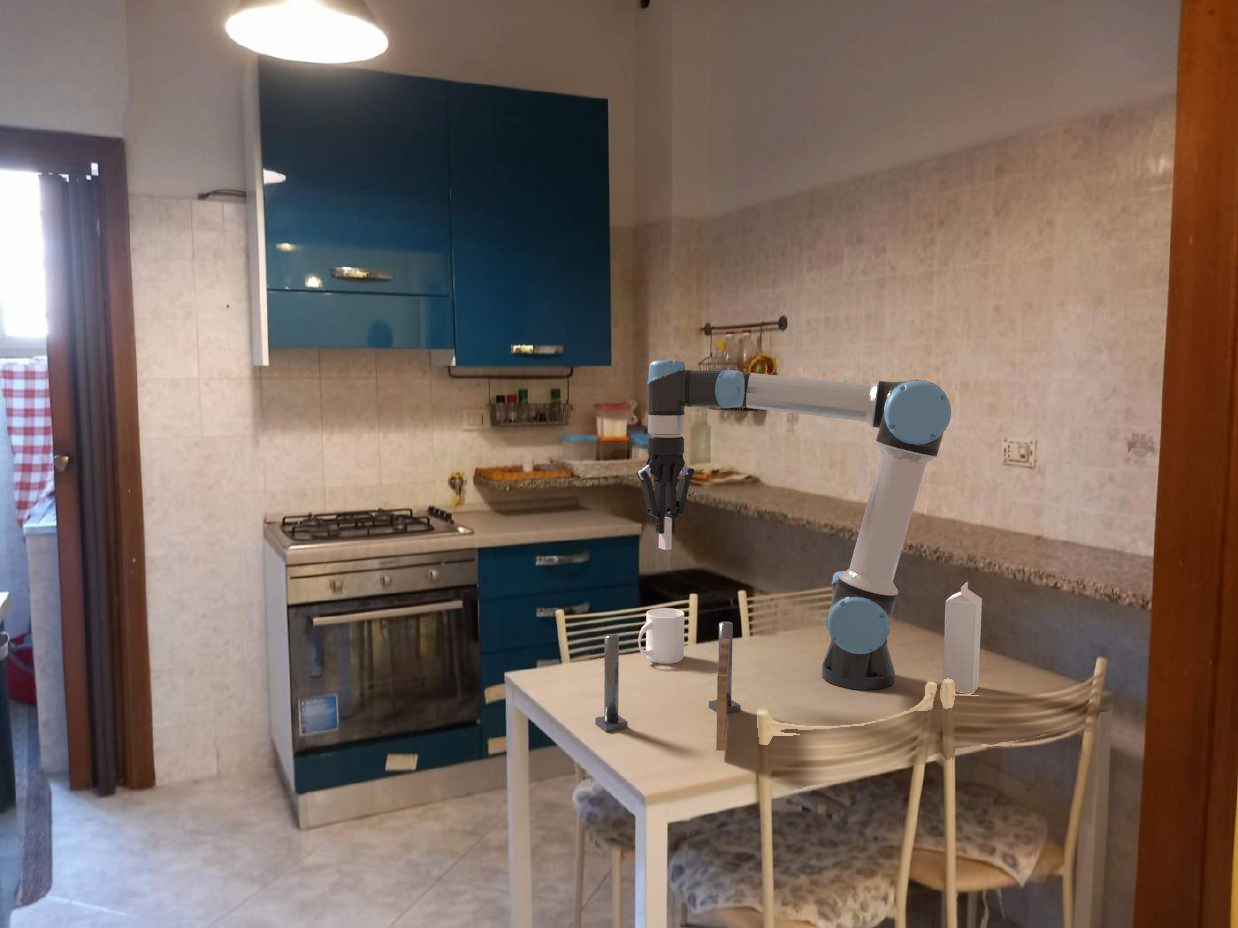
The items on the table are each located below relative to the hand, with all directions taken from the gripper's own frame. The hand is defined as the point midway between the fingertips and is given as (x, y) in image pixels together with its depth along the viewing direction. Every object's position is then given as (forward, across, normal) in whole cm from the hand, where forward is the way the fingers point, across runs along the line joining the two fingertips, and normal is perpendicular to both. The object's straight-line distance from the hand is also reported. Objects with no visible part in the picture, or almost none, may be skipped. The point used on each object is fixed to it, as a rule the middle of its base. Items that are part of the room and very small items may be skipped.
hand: (665, 548), depth 195 cm
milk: (+29, -52, +32) cm, 68 cm away
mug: (+29, -6, -13) cm, 32 cm away
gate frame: (+28, +10, +18) cm, 35 cm away
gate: (+27, +5, +30) cm, 41 cm away
